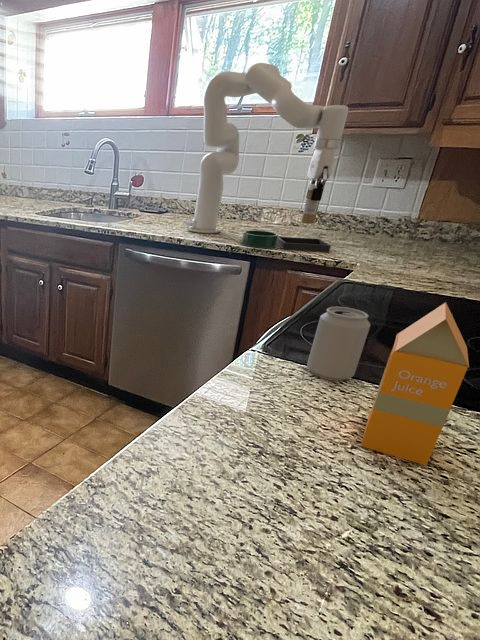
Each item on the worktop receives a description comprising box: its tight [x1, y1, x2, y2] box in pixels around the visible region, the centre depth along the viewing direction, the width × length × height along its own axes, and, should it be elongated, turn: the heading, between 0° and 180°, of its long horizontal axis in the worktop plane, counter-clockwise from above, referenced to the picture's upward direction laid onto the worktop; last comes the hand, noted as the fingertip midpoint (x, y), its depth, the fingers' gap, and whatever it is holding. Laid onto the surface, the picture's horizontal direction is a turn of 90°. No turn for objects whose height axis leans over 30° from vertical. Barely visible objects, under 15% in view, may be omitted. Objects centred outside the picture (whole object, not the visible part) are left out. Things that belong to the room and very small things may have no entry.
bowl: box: [241, 229, 279, 249], centre depth 198 cm, size 12×12×4 cm
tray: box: [276, 236, 332, 253], centre depth 195 cm, size 15×12×2 cm
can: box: [306, 306, 371, 382], centre depth 93 cm, size 8×8×12 cm
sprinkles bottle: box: [300, 183, 321, 225], centre depth 189 cm, size 5×5×14 cm
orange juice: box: [360, 301, 470, 466], centre depth 71 cm, size 8×9×20 cm
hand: (313, 198), depth 188 cm, fingers closed on sprinkles bottle, 4 cm apart
